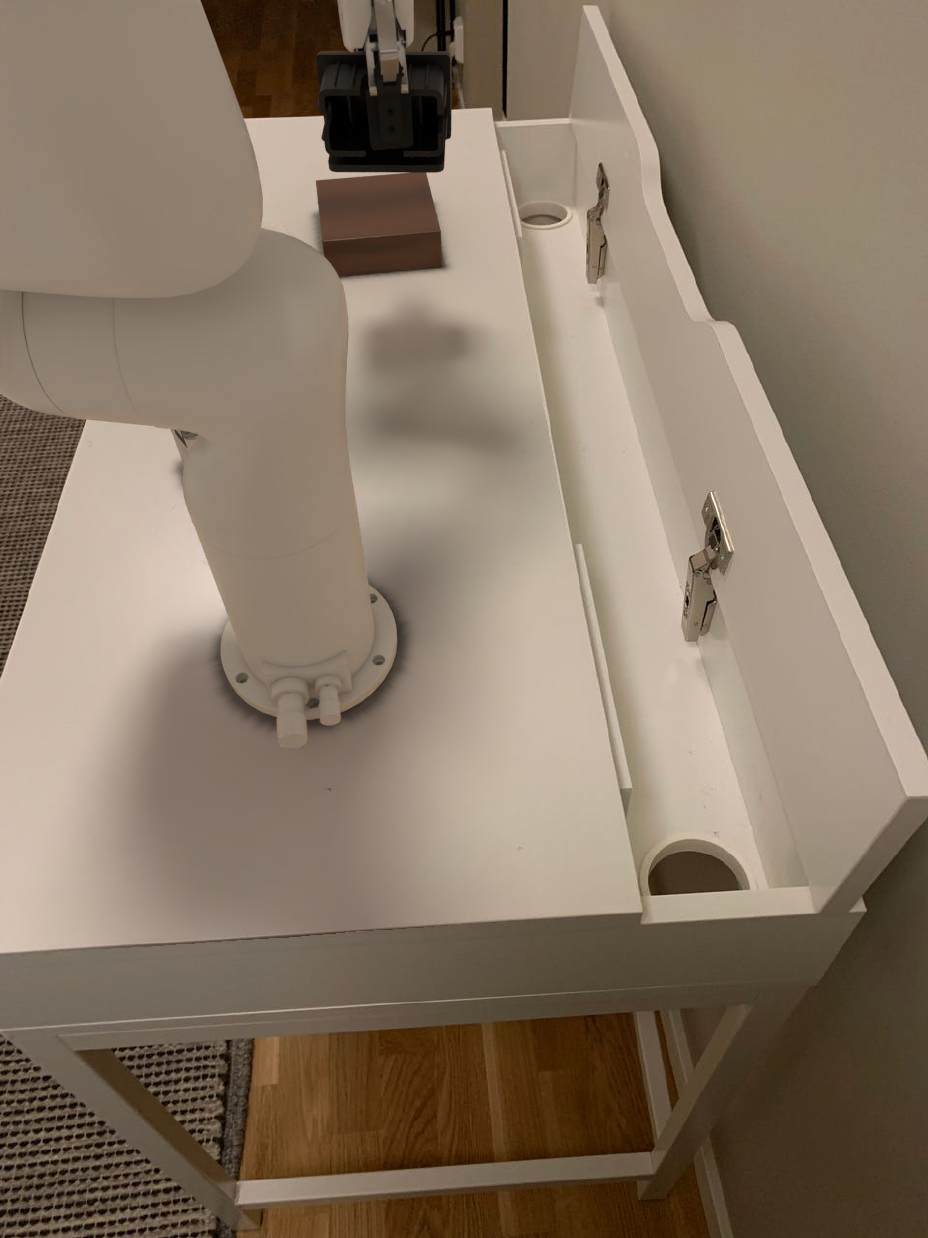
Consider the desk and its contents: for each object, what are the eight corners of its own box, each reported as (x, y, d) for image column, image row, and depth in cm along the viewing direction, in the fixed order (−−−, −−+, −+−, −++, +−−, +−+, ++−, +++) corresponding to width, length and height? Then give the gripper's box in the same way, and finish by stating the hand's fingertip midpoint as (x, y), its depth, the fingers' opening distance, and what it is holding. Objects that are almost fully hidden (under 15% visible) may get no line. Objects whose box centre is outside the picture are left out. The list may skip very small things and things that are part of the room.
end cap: (452, 128, 72) (450, 36, 67) (450, 173, 68) (448, 79, 63) (331, 128, 73) (320, 36, 67) (322, 172, 68) (309, 79, 63)
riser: (441, 266, 92) (441, 230, 89) (327, 277, 91) (322, 241, 88) (427, 206, 99) (426, 170, 96) (320, 215, 98) (315, 179, 95)
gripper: (298, -213, 59) (332, 72, 73) (310, -128, 49) (346, 182, 63) (409, -218, 59) (421, 66, 74) (443, -136, 50) (449, 173, 64)
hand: (386, 118), depth 68 cm, fingers closed on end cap, 7 cm apart
